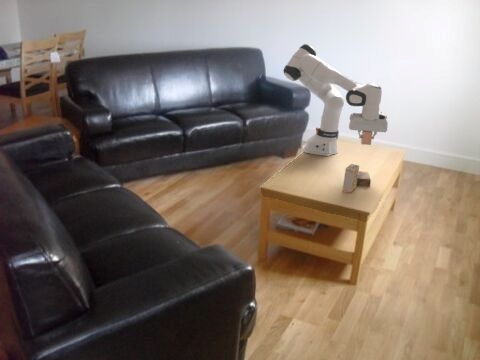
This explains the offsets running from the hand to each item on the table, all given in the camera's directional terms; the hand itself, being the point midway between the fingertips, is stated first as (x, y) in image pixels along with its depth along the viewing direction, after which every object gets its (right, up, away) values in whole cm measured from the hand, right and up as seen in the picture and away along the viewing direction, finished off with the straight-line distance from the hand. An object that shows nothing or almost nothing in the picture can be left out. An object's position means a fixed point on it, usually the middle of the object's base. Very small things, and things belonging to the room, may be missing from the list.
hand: (366, 138), depth 267 cm
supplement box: (-12, -28, -12) cm, 33 cm away
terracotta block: (0, -2, +1) cm, 3 cm away
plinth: (-5, -24, -2) cm, 24 cm away
